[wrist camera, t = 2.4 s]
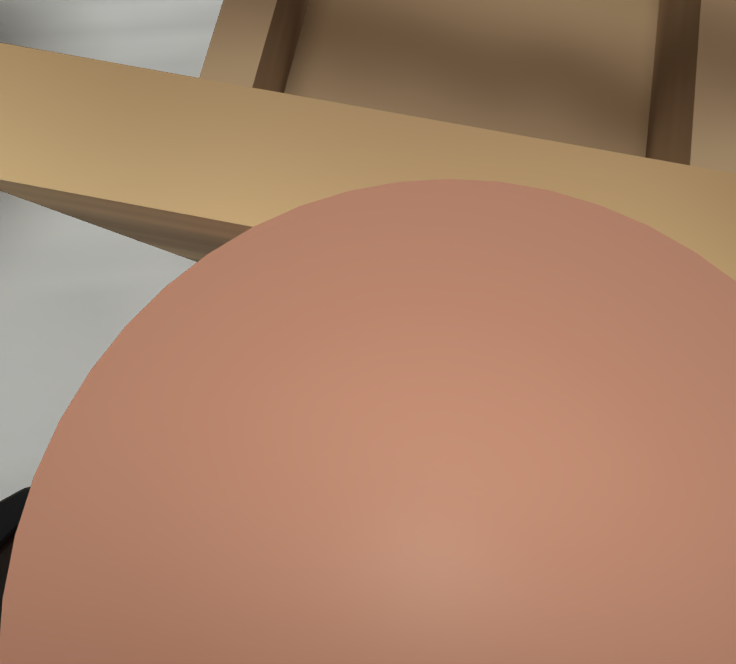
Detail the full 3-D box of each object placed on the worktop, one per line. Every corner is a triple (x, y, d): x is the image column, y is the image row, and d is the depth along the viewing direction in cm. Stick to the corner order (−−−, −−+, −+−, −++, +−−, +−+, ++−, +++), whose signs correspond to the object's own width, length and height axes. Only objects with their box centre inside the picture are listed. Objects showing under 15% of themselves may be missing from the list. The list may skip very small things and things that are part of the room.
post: (513, 611, 16) (1135, 989, 3) (310, 673, 15) (73, 1404, 3) (450, 410, 17) (707, 102, 4) (261, 462, 16) (-49, 289, 4)
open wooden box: (652, 299, 18) (793, 194, 12) (223, 220, 18) (160, 82, 12) (677, -8, 21) (800, -212, 15) (305, -69, 21) (283, -290, 15)
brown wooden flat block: (597, 465, 17) (1126, 375, 5) (216, 389, 17) (-87, 149, 6) (614, 308, 18) (1080, -59, 6) (255, 240, 18) (70, -219, 7)
